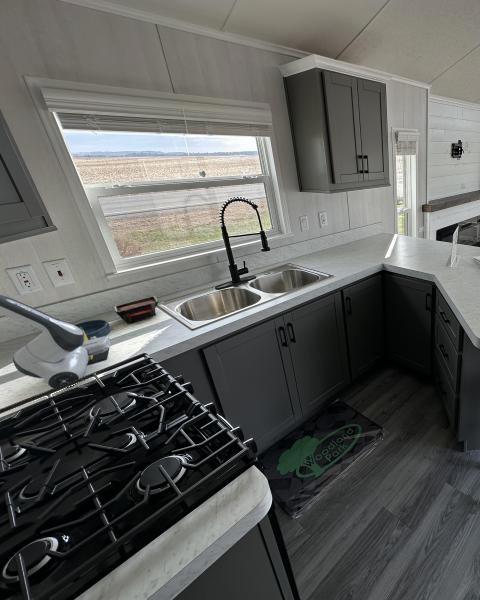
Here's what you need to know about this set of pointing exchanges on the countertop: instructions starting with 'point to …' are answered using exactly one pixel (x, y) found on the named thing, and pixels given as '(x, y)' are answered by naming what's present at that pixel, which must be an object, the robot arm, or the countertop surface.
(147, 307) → the baking dish
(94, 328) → the bowl
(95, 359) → the drying mat
